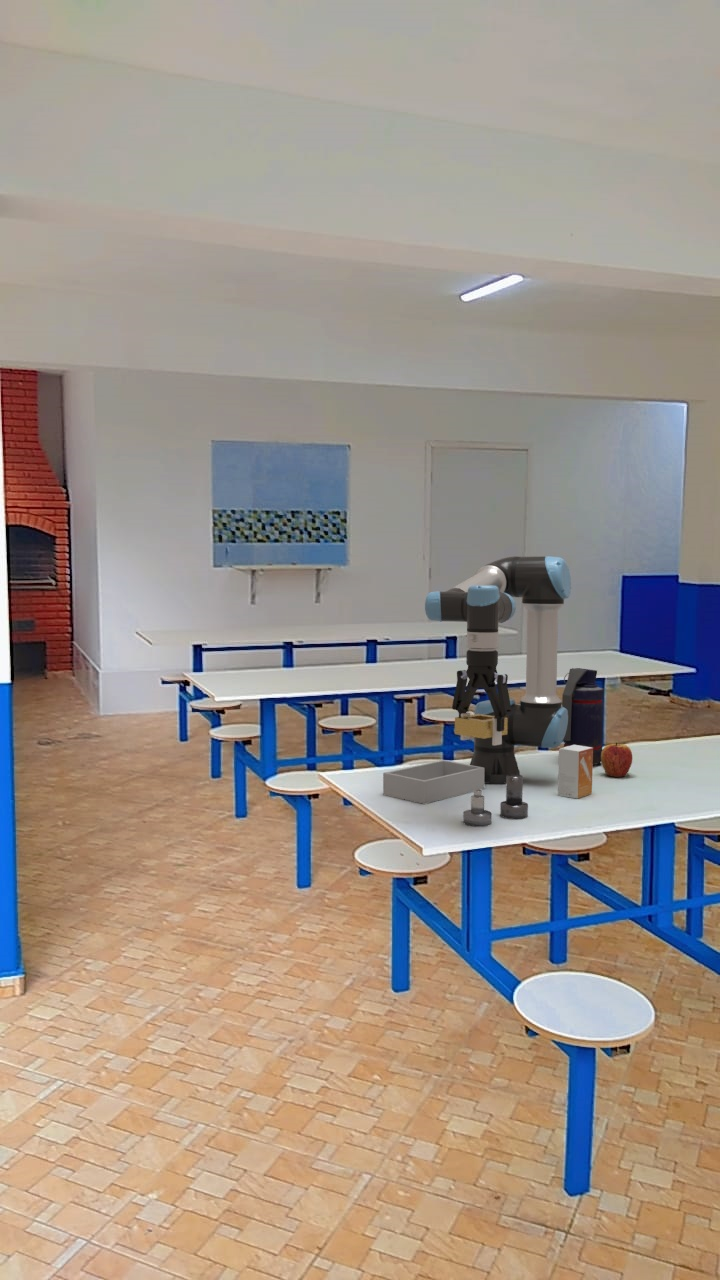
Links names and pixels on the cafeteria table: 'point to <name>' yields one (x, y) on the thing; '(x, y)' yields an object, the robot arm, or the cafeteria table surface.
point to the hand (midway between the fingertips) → (480, 742)
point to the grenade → (584, 711)
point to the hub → (477, 812)
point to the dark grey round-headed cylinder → (514, 799)
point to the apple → (616, 759)
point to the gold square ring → (477, 726)
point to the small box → (575, 771)
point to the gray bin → (433, 781)
